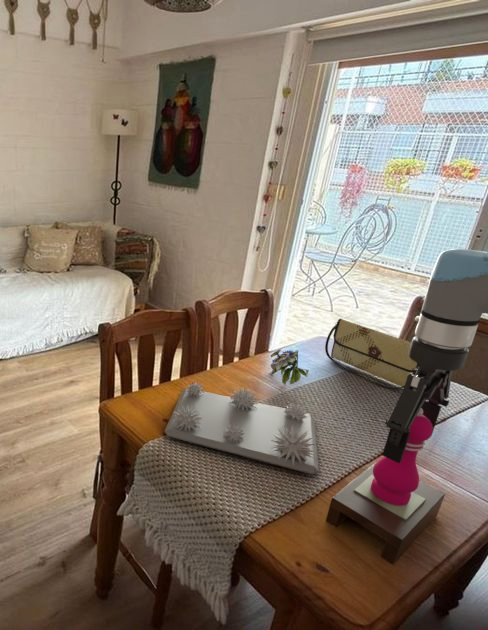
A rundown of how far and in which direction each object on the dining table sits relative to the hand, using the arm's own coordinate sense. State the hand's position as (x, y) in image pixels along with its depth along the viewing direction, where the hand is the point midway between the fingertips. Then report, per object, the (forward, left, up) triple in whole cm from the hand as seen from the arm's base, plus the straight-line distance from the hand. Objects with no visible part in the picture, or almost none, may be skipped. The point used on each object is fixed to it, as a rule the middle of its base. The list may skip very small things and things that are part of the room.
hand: (407, 445), depth 82 cm
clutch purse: (+30, -62, -18) cm, 72 cm away
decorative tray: (+34, -1, -18) cm, 39 cm away
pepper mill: (0, 0, -12) cm, 12 cm away
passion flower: (+44, -39, -18) cm, 62 cm away
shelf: (0, 0, -18) cm, 18 cm away
